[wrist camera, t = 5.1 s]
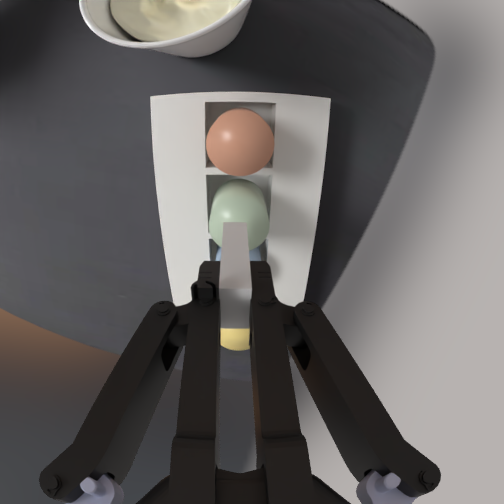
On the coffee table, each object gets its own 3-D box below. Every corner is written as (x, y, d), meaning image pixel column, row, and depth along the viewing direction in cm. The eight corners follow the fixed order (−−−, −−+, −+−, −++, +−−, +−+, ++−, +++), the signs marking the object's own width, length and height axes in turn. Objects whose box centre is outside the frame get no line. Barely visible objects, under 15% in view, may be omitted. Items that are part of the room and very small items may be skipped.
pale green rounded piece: (212, 178, 23) (207, 198, 19) (265, 178, 23) (271, 198, 19) (214, 225, 25) (210, 252, 22) (263, 225, 26) (267, 252, 22)
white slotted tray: (161, 95, 21) (150, 96, 18) (318, 97, 22) (330, 98, 19) (183, 309, 35) (179, 329, 32) (293, 308, 35) (297, 328, 33)
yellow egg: (217, 290, 29) (215, 321, 26) (259, 290, 30) (262, 321, 26) (219, 319, 32) (217, 350, 28) (257, 319, 32) (260, 350, 28)
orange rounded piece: (212, 107, 20) (205, 111, 16) (268, 108, 20) (276, 112, 16) (212, 160, 22) (206, 176, 18) (266, 160, 22) (272, 176, 19)
